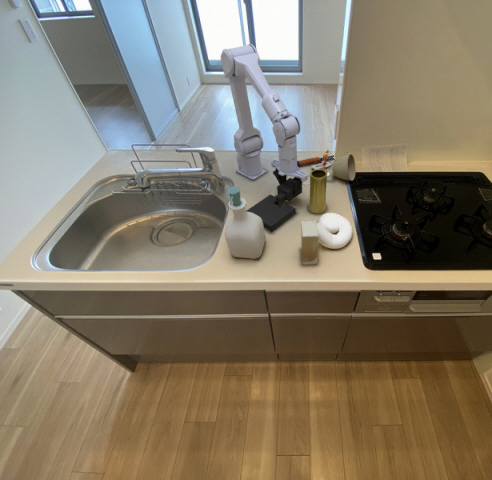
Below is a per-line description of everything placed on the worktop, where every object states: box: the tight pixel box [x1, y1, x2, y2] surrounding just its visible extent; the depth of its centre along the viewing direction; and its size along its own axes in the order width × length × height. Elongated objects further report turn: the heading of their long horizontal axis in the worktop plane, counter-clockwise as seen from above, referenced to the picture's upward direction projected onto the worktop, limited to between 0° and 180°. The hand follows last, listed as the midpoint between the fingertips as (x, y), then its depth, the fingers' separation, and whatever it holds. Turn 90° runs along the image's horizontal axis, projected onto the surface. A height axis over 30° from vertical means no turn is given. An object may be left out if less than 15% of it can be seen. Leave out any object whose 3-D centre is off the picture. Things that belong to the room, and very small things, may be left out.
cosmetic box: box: [300, 219, 319, 265], centre depth 79 cm, size 6×4×12 cm
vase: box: [308, 169, 328, 214], centre depth 94 cm, size 6×6×14 cm
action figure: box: [321, 149, 331, 178], centre depth 111 cm, size 12×3×9 cm, turn 169°
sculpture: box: [317, 212, 354, 250], centre depth 87 cm, size 12×15×8 cm
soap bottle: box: [224, 186, 267, 260], centre depth 77 cm, size 10×10×23 cm
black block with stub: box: [275, 177, 303, 205], centre depth 97 cm, size 6×10×4 cm, turn 140°
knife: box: [297, 154, 335, 168], centre depth 120 cm, size 26×3×5 cm
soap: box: [310, 161, 333, 170], centre depth 117 cm, size 10×4×1 cm, turn 129°
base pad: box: [246, 194, 297, 233], centre depth 96 cm, size 12×12×2 cm
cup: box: [331, 153, 356, 182], centre depth 109 cm, size 10×10×7 cm
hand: (289, 190), depth 99 cm, fingers closed on black block with stub, 5 cm apart
